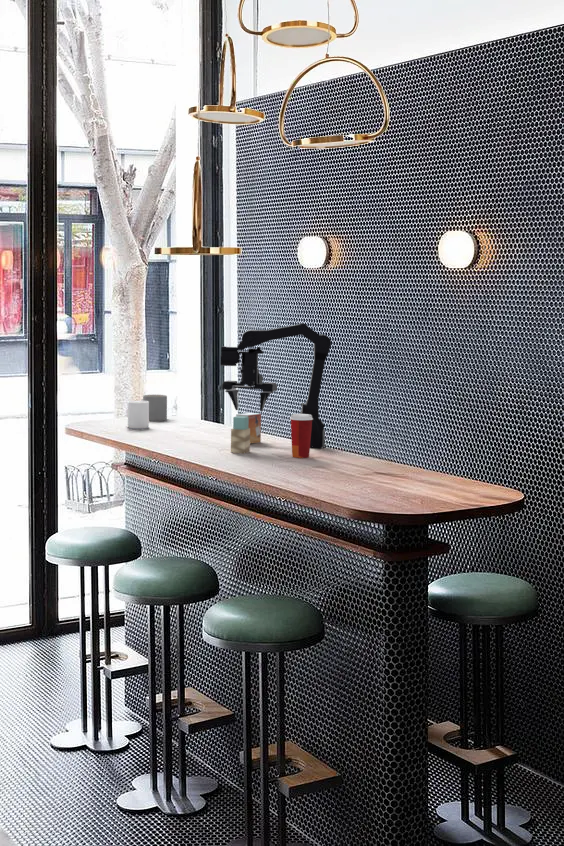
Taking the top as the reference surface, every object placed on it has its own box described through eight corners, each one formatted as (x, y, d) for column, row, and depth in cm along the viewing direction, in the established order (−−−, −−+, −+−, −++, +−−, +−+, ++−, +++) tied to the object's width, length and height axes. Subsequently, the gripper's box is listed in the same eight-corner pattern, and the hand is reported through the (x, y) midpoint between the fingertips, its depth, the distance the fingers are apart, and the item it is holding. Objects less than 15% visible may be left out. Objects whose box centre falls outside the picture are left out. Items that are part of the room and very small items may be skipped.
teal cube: (248, 428, 365) (248, 416, 364) (244, 429, 361) (244, 417, 360) (237, 427, 366) (237, 416, 365) (233, 429, 362) (233, 417, 362)
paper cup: (314, 455, 359) (315, 414, 357) (309, 459, 351) (309, 416, 350) (292, 454, 361) (292, 413, 359) (286, 457, 353) (286, 415, 352)
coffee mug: (171, 420, 449) (171, 396, 448) (150, 421, 443) (150, 397, 442) (154, 416, 460) (154, 393, 458) (134, 418, 453) (134, 394, 452)
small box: (247, 444, 382) (247, 415, 381) (235, 443, 385) (235, 413, 384) (261, 442, 388) (261, 413, 387) (249, 440, 392) (249, 412, 390)
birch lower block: (249, 451, 366) (249, 439, 366) (244, 453, 361) (244, 441, 361) (235, 450, 368) (236, 439, 367) (230, 452, 363) (230, 440, 362)
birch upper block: (249, 439, 366) (250, 428, 365) (244, 441, 361) (245, 430, 360) (236, 439, 367) (236, 427, 367) (230, 440, 362) (231, 429, 362)
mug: (118, 426, 426) (118, 400, 425) (136, 424, 431) (136, 399, 430) (134, 429, 417) (134, 403, 416) (152, 428, 422) (152, 402, 421)
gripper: (282, 365, 380) (281, 409, 382) (232, 363, 385) (232, 407, 387) (272, 367, 369) (271, 413, 371) (221, 365, 375) (221, 410, 377)
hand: (249, 410), depth 377 cm, fingers open, 9 cm apart
